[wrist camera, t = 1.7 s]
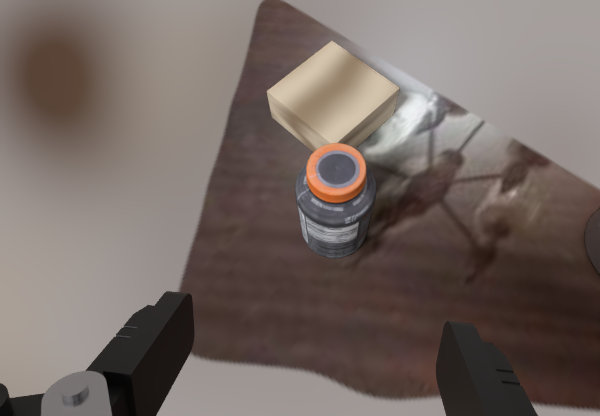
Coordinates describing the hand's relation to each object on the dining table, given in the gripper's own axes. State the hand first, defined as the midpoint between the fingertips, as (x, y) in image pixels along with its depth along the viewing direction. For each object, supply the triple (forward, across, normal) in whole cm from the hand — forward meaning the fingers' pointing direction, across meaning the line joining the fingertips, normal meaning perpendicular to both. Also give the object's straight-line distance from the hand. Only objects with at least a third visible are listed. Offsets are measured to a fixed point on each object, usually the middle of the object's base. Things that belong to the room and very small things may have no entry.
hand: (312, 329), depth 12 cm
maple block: (+32, +1, -3) cm, 32 cm away
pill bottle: (+23, 0, +6) cm, 24 cm away
